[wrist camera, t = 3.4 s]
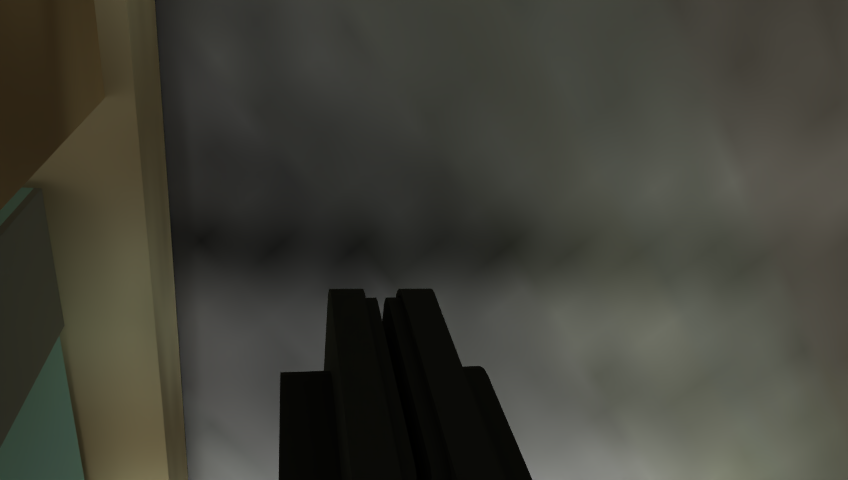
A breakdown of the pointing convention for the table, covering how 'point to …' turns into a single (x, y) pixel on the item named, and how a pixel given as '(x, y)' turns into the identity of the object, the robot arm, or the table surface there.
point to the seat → (100, 218)
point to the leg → (32, 351)
